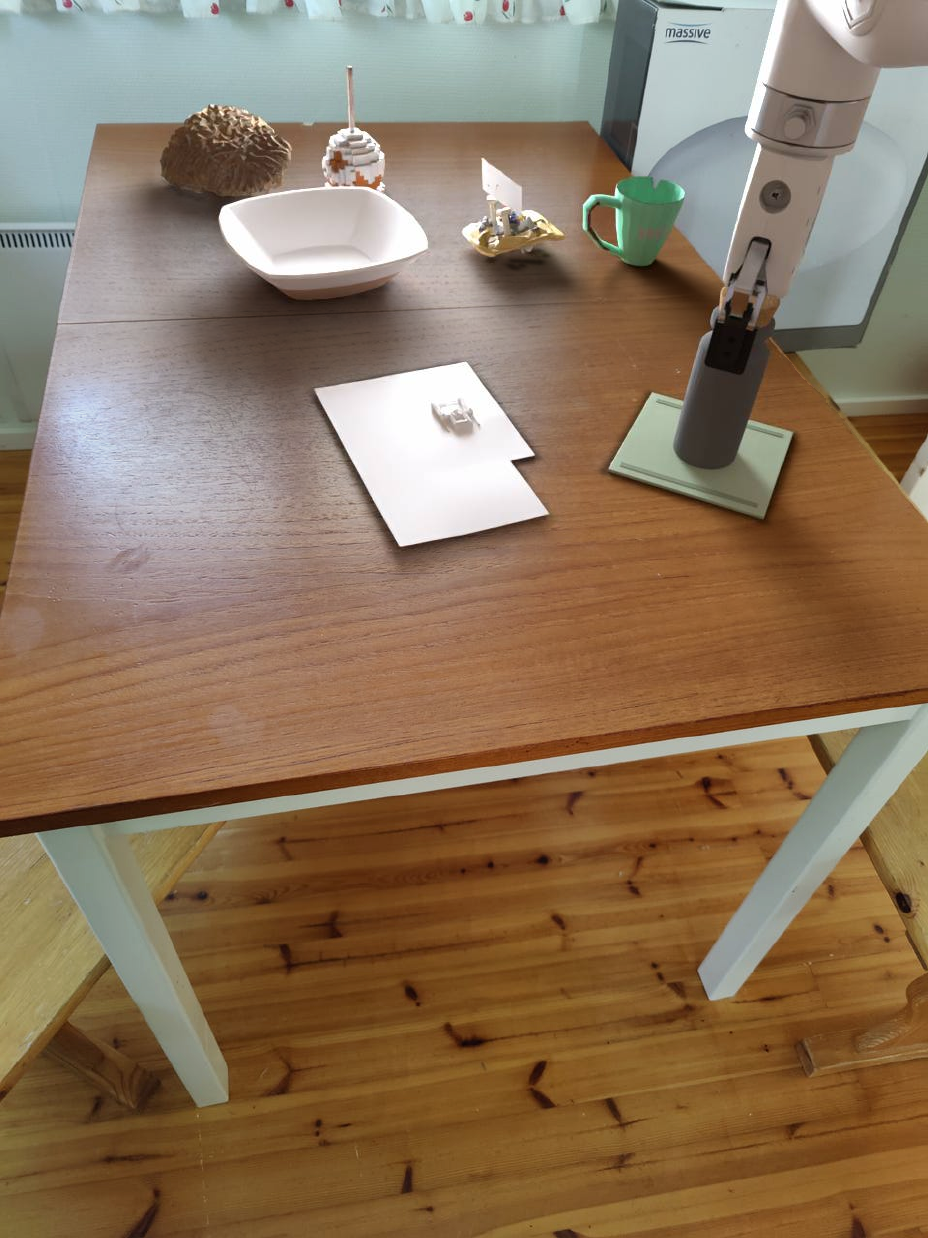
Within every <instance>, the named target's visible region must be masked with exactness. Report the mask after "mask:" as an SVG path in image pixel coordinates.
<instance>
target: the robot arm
mask: <svg viewBox="0 0 928 1238" xmlns="http://www.w3.org/2000/svg"><path fill="white" fill-rule="evenodd" d="M773 15H774V16H773V19H772V23H771V27H770V30H769V34H768V39H767V41H766V47H765V50H764V55H763V57H762V62H761V65H760V69H759V73H758V77H757V82H756V85H755V89H754V93H753V97H752V101H751V105H750V107H749V108H750V109H749V112H748V116H747V120H746V122H745V126H744V132H745V134H746V135H747V137H748V138H749V139H750V140H752V141H753V142H755V143H757V146H756V149H755V152H754V156H753V160H752V162H751V166H750V170H749V173H748V177H747V181H746V183H745V187H744V191H743V195H742V199H741V203H740V206H739V210H738V214H737V216H736V217H737V218H736V222H735V225H734V229H733V233H732V237H731V241H730V245H729V249H728V253H727V258H726V262H725V267H724V272H723V276H722V282H723V283H724V286H727V287H729V289H728V291H727V294H726V297H725V300H724V303H723V306H722V308H721V311H720V314H719V316H717V318H716V321H715V325H714V328H713V329H712V330H713V332H712V335H711V339H710V343H709V346H708V350H707V354H706V357H705V361H704V363H705V365H706V366H707V367H711V368H714V369H718V370H722V371H725V372H729V373H733V374H737V375H741V374H743V373H744V371H745V369H746V366H747V363H748V359H749V356H750V353H751V350H752V347H753V344H754V341H755V337H756V334H757V331H758V328H759V326H755V325H756V322H757V320H758V317H759V314H760V311H761V308H762V306H763V303H764V300H765V297H766V296H767V293H768V295H772V296H776V299H778V300H779V299H780V300H783V299H784V298H785V297H786V296H788V294H789V291H790V290H791V287H792V285H793V283H794V281H795V279H796V276H797V274H798V272H799V269H800V267H801V265H802V262H803V260H804V257H805V254H806V250H807V248H808V243H809V240H810V238H811V235H812V232H813V229H814V225H815V223H816V220H817V217H818V213H819V211H820V208H821V205H822V202H823V199H824V196H825V193H826V189H827V187H828V183H829V179H830V176H831V173H832V171H833V170H832V169H833V167H834V162H835V159H836V157H837V156H841V155H845V154H847V153H850V152H851V151H852V150H853V149H854V148H855V145H856V142H857V139H858V136H859V133H860V131H861V127H862V125H863V121H864V118H865V115H866V113H867V110H868V107H869V104H870V101H871V98H872V95H873V93H874V90H875V87H876V85H877V82H878V79H879V76H880V73H881V70H882V69H904V68H917V67H928V0H777V3H776V8H775V12H774V14H773ZM751 296H755V297H757V299H756V302H755V305H754V308H752V307H753V303H751V302H750V299H751Z"/></svg>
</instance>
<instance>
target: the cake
mask: <svg viewBox="0 0 928 1238" xmlns="http://www.w3.org/2000/svg"><path fill="white" fill-rule="evenodd" d="M481 177H482V180H481V181H482V190H483V191H485V192H486V193H487V194H489V195H487V197H486V204H489V212H490V214H489V215H490V218H489V217H488V216H486V215H485V216H483V219H482V220H481V219H480V220H479V221H478V222H477V223H473V222H472V223H470V224H469V225H467V226H465V227H464V228H463V229H462V235H463V236H464V237H465V239H466V240H467V241H468V242H469V243H470V245H471V246H472V247H474V248H475V250H476V251H478V252H479V254H481V255H483V256H486V257H489V258H495V257H496V256H497V255H500V254H504V253H507V252H511V251H515V250H519V249H520V252H521V253H522V254H523V255H524V254H525V251H526V252H531V251H532V250H533V248H534V245H535V246H536V247H538V244H540V243H544V242H559V241H563V240H565V239H566V235H565V234H564V233H563V232H562V231H560V229H558V228H557V227H556V226H555V225H553V224H552V223H551V222H550V221H549V220H547V218H545V217H544V216H543V215H542V214H541V213H538V212H536V211H534V210H531V209H529V210H523V186H522V185H520V184H518V183H516V182H515V181H513V179H511V178H510V177H508V176H507V175H506V174H504V173H503V172H502V170H499V169H498V168H497V167H495V166H494V165H493V164H491V163H490V162H488V161H487V160H486V159H485V158H483V157H481ZM498 202H500V205H501V204H502V205H503V206H504V207H503V208H500V209H497V207H496V206H497V205H496V204H498ZM497 216H498V217H497ZM598 300H599V301H603V299H602V298H598Z"/></svg>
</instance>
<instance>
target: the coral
mask: <svg viewBox="0 0 928 1238" xmlns="http://www.w3.org/2000/svg"><path fill="white" fill-rule="evenodd" d="M187 117H188V118H185V120H184V121H183V126H180V127H178V128H176V129H175V130H173V131H174V134H172V135H171V136H170V140H169V141H168V143H167V144H168V146H166V147H164V149H163V150H162V153H161V158H160V159H159V162H160V166H161V174H160V177H162V178H164V179H165V180H166V182H167V183H168V185H170V186H174V187H177V188H180V190H186V189H187V190H192V191H194V192H195V193H197V194H198V193H199V194H203V193H204V192H206V191H208V192H213V193H215V194H216V195H217V196H219V197H228V196H230V197H232V198H233V197H234V198H236V197H241V196H245V197H246V196H251V197H252V198H253V197H258V196H262V195H266V194H267V193H269V191H270V190H272V189H273V190H274V189H275V190H276V189H278V188H280V187H282V185H283V184H284V172H285V171H286V170H288V169H289V164H290V162H291V160H292V158H291V154H292V152H293V149H292V146H291V144H290V143H289V142H288V141H287V139H286V138H284V137H283V135H279V134H277V133H275V130H274V129H273V128H272V127H271V126H270V125H269V124H268V123H267V120H264V119H263V118H262V117H260V116H259V115H255V114H253V113H249V111H248V110H247V109H242V107H241V108H240V107H235V106H234V105H221V104H207V107H204V108H203V109H202V111H195V112H194V113H193V114H191V115H188V116H187Z"/></svg>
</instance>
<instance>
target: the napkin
mask: <svg viewBox="0 0 928 1238" xmlns="http://www.w3.org/2000/svg"><path fill="white" fill-rule="evenodd" d="M683 402H684V400H682V399H678V398H674V397H670V396H667V395H663V394H659V393H656V392H651V394H650V395H649V396H648V399H647V400H646V402H645V403H644V406H643V407H642V409H641V410H640V412H639V414H638V416H637V418H636V420H635V421H634V423H633V425H632V427H631V428H630V430H629V431H628V433H627V434H626V437H625V439H624V440H623V441H622V444H621V446H620V447H619V449H618V450H617V453H616V455H615V456H614V458H613V460H612V461H611V463H610V465H609V467H608V468H607V472H609V473H612V474H614V475H615V474H616V475H618V476H622V477H625V478H627V479H631V480H634V481H638V482H641V483H643V484H647V485H651V486H653V487H658V488H661V489H663V490H667V491H670V492H674V493H676V494H680V495H682V496H686V497H690V498H693V499H695V500H699V501H702V502H705V503H709V504H712V505H715V506H718V507H721V508H725V509H728V510H731V511H734V512H738V513H741V514H745V515H748V516H750V517H754V518H757V519H761V520H764V518H765V516H766V513H767V510H768V507H769V504H770V501H771V498H772V495H773V493H774V490H775V486H776V484H777V481H778V478H779V475H780V472H781V469H782V466H783V464H784V460H785V457H786V454H787V451H788V450H789V446H790V443H791V440H792V437H793V436H794V435H793V434H794V431H792V430H787V429H785V428H780V427H777V426H773V425H771V424H770V425H769V424H766V423H763V422H759V421H756V420H752V419H749V420H748V423H747V426H746V429H745V432H744V435H743V438H742V441H741V444H740V447H739V449H738V452H737V455H736V457H735V459H734V461H733V462H732V463H731V464H730V465H728V466H726V467H722V468H717V469H706V468H700V467H697V466H693V465H691V464H689V463H687V462H685V461H684V460H682V459H681V458H680V457H678V455H677V454H676V453H675V451H674V448H673V442H674V437H675V433H676V429H677V425H678V421H679V418H680V414H681V410H682V406H683Z"/></svg>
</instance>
